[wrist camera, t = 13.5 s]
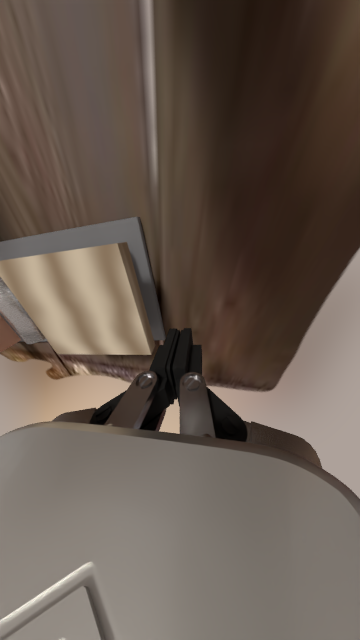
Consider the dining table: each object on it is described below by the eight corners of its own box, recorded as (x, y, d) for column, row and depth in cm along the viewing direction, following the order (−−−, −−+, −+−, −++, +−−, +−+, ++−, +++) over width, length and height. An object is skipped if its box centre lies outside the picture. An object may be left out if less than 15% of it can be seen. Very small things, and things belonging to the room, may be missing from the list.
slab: (126, 241, 15) (117, 243, 13) (155, 345, 22) (151, 354, 20) (9, 259, 18) (-11, 262, 16) (67, 345, 25) (57, 354, 23)
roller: (8, 259, 23) (-25, 264, 20) (56, 331, 30) (38, 343, 27) (-12, 262, 24) (-47, 267, 20) (40, 332, 31) (20, 344, 27)
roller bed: (139, 217, 18) (94, 206, 11) (165, 337, 28) (151, 376, 20) (-63, 253, 25) (-174, 262, 18) (13, 339, 35) (-39, 368, 27)
